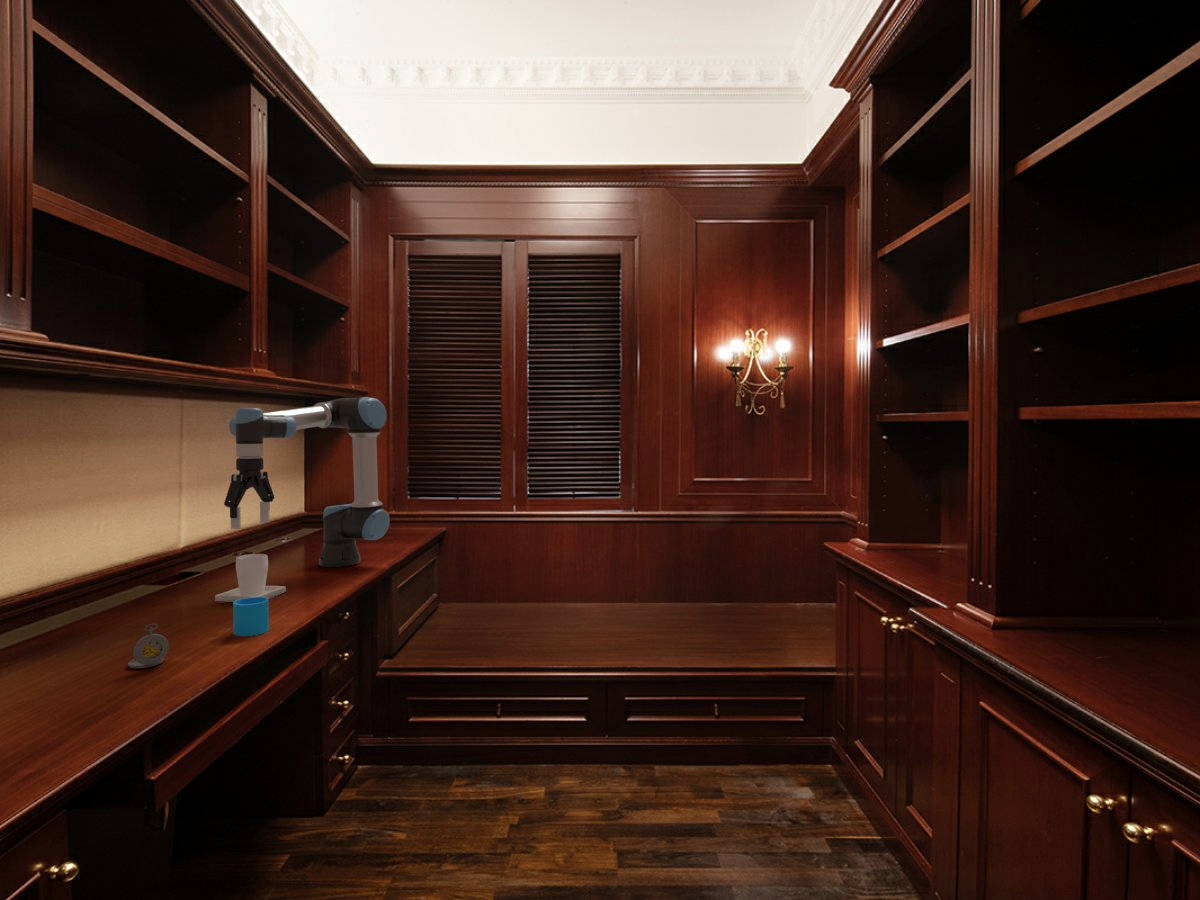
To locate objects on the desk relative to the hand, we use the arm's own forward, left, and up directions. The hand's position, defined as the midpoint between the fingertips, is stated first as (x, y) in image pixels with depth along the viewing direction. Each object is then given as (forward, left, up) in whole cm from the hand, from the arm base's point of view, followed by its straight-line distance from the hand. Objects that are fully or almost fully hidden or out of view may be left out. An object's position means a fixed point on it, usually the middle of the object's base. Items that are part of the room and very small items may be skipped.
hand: (250, 525), depth 206 cm
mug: (+30, +23, -23) cm, 44 cm away
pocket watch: (+58, +17, -23) cm, 65 cm away
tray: (0, 0, -23) cm, 23 cm away
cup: (0, 0, -22) cm, 22 cm away
